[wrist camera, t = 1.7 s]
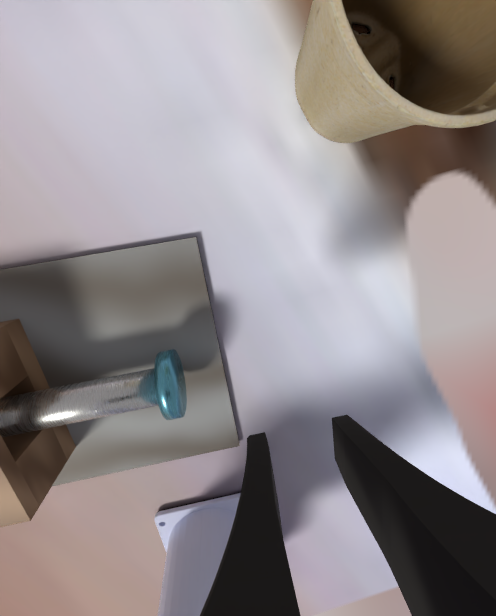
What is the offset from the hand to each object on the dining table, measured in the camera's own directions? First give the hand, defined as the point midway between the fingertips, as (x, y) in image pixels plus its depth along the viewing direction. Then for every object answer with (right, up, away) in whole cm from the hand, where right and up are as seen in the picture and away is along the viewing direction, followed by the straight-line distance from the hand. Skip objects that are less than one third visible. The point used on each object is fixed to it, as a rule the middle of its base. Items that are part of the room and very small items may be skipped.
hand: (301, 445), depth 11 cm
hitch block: (-15, 0, +8) cm, 17 cm away
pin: (-12, 0, +7) cm, 14 cm away
